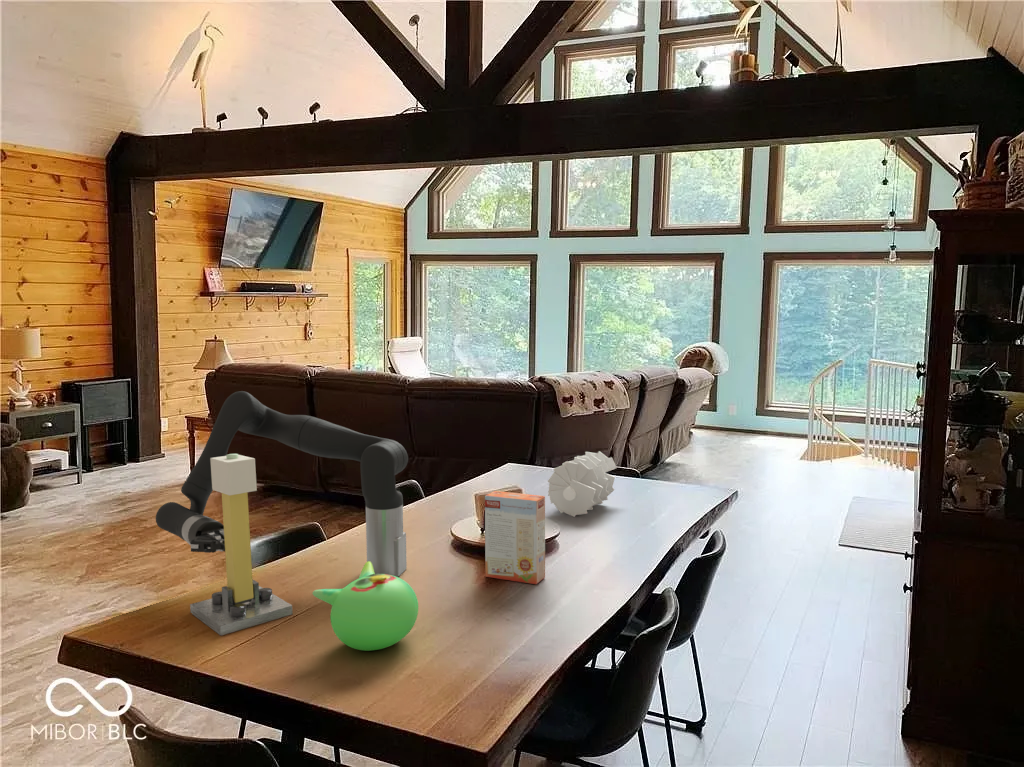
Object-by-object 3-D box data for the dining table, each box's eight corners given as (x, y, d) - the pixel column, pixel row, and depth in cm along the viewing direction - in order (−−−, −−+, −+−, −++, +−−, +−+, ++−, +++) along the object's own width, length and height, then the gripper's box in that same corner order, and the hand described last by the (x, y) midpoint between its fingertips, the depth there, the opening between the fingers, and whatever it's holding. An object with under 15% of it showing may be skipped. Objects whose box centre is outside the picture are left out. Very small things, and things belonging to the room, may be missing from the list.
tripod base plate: (190, 612, 172) (189, 584, 171) (259, 594, 183) (258, 567, 182) (220, 635, 160) (219, 605, 160) (292, 614, 171) (291, 585, 170)
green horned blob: (375, 672, 144) (373, 596, 143) (310, 651, 153) (307, 578, 152) (434, 637, 159) (433, 567, 158) (372, 619, 168) (371, 553, 167)
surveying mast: (219, 602, 172) (210, 454, 170) (245, 595, 177) (236, 450, 174) (236, 612, 166) (227, 458, 163) (263, 604, 170) (254, 454, 167)
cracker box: (546, 577, 193) (546, 495, 191) (536, 585, 188) (536, 500, 186) (495, 569, 199) (494, 489, 197) (484, 577, 194) (484, 494, 191)
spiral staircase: (556, 529, 248) (583, 506, 270) (604, 511, 240) (628, 489, 262) (532, 476, 248) (562, 457, 271) (579, 457, 240) (605, 440, 263)
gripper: (173, 522, 180) (203, 538, 167) (230, 512, 189) (262, 526, 176) (175, 554, 180) (204, 572, 168) (231, 542, 189) (263, 558, 177)
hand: (234, 548), depth 172 cm, fingers closed
